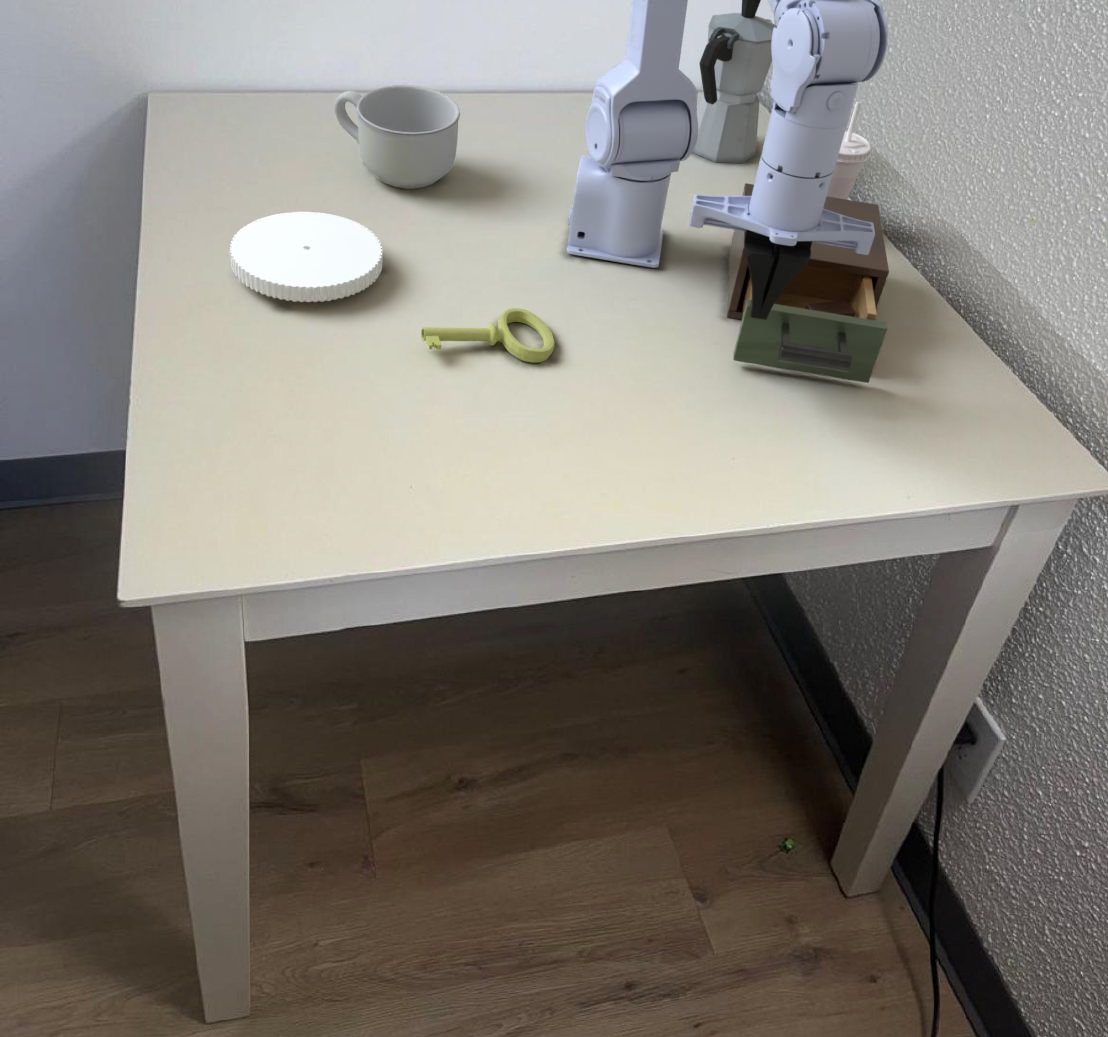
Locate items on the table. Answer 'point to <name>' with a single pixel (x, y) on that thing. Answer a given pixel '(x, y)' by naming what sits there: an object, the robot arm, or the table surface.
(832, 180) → the smoothie
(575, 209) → the robot arm
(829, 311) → the knife
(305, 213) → the white gear
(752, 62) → the coffee maker
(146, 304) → the table surface
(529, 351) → the key
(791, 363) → the drawer
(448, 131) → the teacup
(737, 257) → the cabinet
